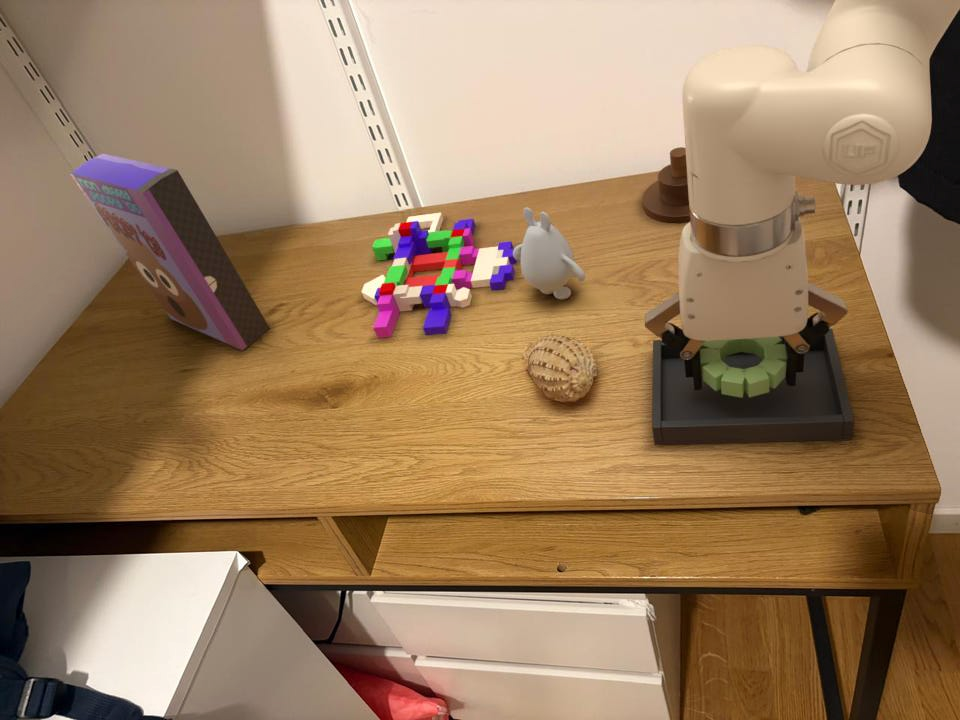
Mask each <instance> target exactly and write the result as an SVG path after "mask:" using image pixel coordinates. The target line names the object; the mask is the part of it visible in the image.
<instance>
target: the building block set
mask: <svg viewBox="0 0 960 720" xmlns="http://www.w3.org/2000/svg"><path fill="white" fill-rule="evenodd" d="M443 222H444V216H443V214H442V212H435V213H428V214H427V213H426V214H421V215H411V216H407V219H406V221H405V222H398V223H395V224H394V226H393V227H390V229H389V231H388V233H387V237H384V238H378V239H375V240H374V242H373V244H372V247H371V248H372V251H373V254H374V256H375V259H376V261H378V262H379V261H386V260H388V258H389V256H390V255H391V254H394V256H393V258H392V259H393V261H392V265H391V266H389V268H388V271H387V274H386V276H385V275H384V274H381V275H378V276H377V277H376V278H374V279H372V280H369V281H367V282H365V283H364V284H363V287H362V289H361V291H360V292H361V295H362V297H363V299H364V300H366V301H368V302H370V303H371V304H373V305H375V306H377V308H378V314H377V317H376V320H375V322H374V325H373V327H372V329H373V331H374V332H375V335H376V337H377V339H383V338H384V339H385V338H392V336H393V331H394V329H395V327H396V325H397V321H398V319H399V315H400V313H401V312H409V311H411V312H412V311H413V308H414V307H415V305H419V304H423V306H424V309H428V310H427V315H426V317H425V321H424V324H423V326H422V329H423V332H424V334H425V336H428V335H429V336H431V335H442V334H447V333H448V329H449V326H450V322H451V319H452V313H451V310H450V309H451V308H453V307H458V308H461V309H463V308H466V307H468V306H470V305H471V301H472V298H473V295H472V292H471V289H476V288H487V287H490V289H491V291H497V290H505V289H506V284H507V281H513V280H514V278H515V277H514V275H515V273H516V270H515V267H514V264H517V262H518V260H516V259H515V258H514V256H513V250H514V249H515V247H514V246H513V241H511V240H509V241H502V242H499V243H498V246H490V247H481V248H480V247H479V248H475V247H474V246H475V239H474V232H475V228H476V223H475V219H474V218H466V219H459V220H458V221H457V222H455V223H454V225H453V228H452V230H447V229H446V230H441V228H442V225H443ZM423 229H426V230H423ZM440 247H441V249H442V250H441V251H442V252H436V253H433V250H434V248H440ZM467 265H474V267H473V271H472V272H468V269H462V268H463V266H467ZM435 270H441V273H439V274H431V275H422V276H414V273H417V272H425V271H435Z"/></svg>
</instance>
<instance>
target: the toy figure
mask: <svg viewBox="0 0 960 720" xmlns="http://www.w3.org/2000/svg"><path fill="white" fill-rule="evenodd" d="M522 213H523V214H522V215H523V218H524V220H525V221H526V223H527V224H528V228H527V229H526V231H525V234H524V237H523V240H522V243H519V244H518V245H516V246H515V247H514V248H515V249H514V248H513V249H514V250H513V256H514V258H515V259H516V260H517V261H520V269H521V274H522V276H523V277H524V279H525V281H527V283H528V284H529V285H530V286H532V287H533V288H535V289H537V290H540V292H541V293H542V294H544V295H552V294H553V296H554V298H556V299H558V300H566V299H568V298H570V297H571V296H572V295H571V294H572V291H571V288H569V287H567V286H565V285H566V284H568V282H569V280H570V279H571V277H573V278H576V279H577V280H578V281H579V282H584V281H585V280H586V274H585V272H584V270H583V268H581V266H580V265H578V263H576V261H575V255H574V252H573V249H572V246H571V245H570V243H569V242H568V241H567V240H566V238H565V236H564V235H563V234H562V233H561V232H560V231H559V230H558V228H557V227H556V226H555V225H554V223H552V220H551V218H550V216H549V214H548V213H547V212H545V211H541V212H540V213H539V221H536V219H535V216H534V212H533V211H532V209H531V208H530V207H527V206H525V207H524V208H523V210H522Z"/></svg>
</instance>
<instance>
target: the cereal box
mask: <svg viewBox="0 0 960 720" xmlns="http://www.w3.org/2000/svg"><path fill="white" fill-rule="evenodd" d="M69 175H70V176H71V178H72V179H73V180H74V182H75V183H76V185H77V186H78V188H79V190H81V192H82V193H83V195H84V197H85V199H86V200H87V201H88V202H89V204H90V205H91V207H92V208H93V209H94V211H95V212H96V213H97V215H98V217H99V218H100V219H101V221H102V223H104V225H105V226H106V229H108V231H109V232H110V234H111V236H113V238H114V240H115V241H116V242H117V244H118V245H119V247H120V248H121V250H122V251H123V252H124V254H125V255H126V257H127V258H128V260H129V261H130V263H131V264H132V265H133V267H134V269H135V270H136V271H137V273H138V274H139V275H140V277H141V278H142V280H143V281H144V282H145V284H146V286H147V287H148V288H149V290H150V291H151V292H152V294H153V295H154V297H155V298H156V300H157V301H158V302H159V304H160V305H161V307H162V309H163V310H164V311H165V312H166V314H167V316H168V317H169V319H170V320H171V321H173V322H175V323H177V324H180V325H182V326H185V327H187V328H189V329H191V330H193V331H195V332H198V333H200V334H203V335H205V336H207V337H210V338H212V339H214V340H216V341H219V342H221V343H223V344H225V345H228V346H230V347H233V348H235V349H237V350H239V351H240V352H244V351H246V350H247V349H248V348H249V347H251V346H252V345H253V344H254V343H255V342H256V341H257V340H259V339H260V338H261V337H262V336H263V335H264V334H265V333H266V332H268V331H269V330H270V329H271V328H270V326H269V324H268V322H267V321H266V319H265V317H264V316H263V314H262V312H261V311H260V309H259V308H258V306H257V303H256V302H255V300H254V299H253V297H252V295H251V293H250V291H249V290H248V288H247V286H246V285H245V283H244V282H243V280H242V278H241V276H240V275H239V273H238V271H237V268H235V266H234V264H233V263H232V260H231V259H230V258H229V256H228V254H227V252H226V250H225V249H224V247H223V246H222V244H221V242H220V241H219V239H218V237H217V235H216V233H215V232H214V230H213V229H212V227H211V225H210V223H209V221H208V220H207V218H206V216H205V214H204V213H203V211H202V209H201V207H200V206H199V204H198V202H197V201H196V199H195V198H194V195H193V194H192V193H191V190H190V189H189V187H188V186H187V183H186V182H185V181H184V179H183V177H182V175H181V173H180V172H179V170H178V169H174V168H170V167H165V166H160V165H156V164H152V163H147V162H143V161H138V160H134V159H129V158H125V157H120V156H116V155H112V154H106V153H100V154H99V155H97V156H95V157H94V156H93V157H92V158H90V159H89V160H86V161H85V162H84V163H82V164H81V165H79V166H78V167H77V168H75V169H74V170H73V171H71V172H69Z"/></svg>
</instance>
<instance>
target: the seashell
mask: <svg viewBox="0 0 960 720" xmlns="http://www.w3.org/2000/svg"><path fill="white" fill-rule="evenodd" d="M521 356H522V357H521V359H522V360H523V365H524V366H525V369H526V371H528V372H529V374H530V376H531V377H533V378H532V379H533V380H534V385H535V386H536V387H537V388H539V389H540V390H541V391H542V392H543V393H544V395H545V396H546V397H547V398H548V399H550V400H553V401H557V402H561V403H564V402H570V403H576V402H577V401H578V400H580V399H582V398H585V396H586V394H587V393H588V392H590V390H591V387H592V385H593V383H594V378H595V377H597V376H598V365H597V363H598V362H597V358H596V357H595V355H594V353H593V352H592V350H591V348H589V347H588V346H586V345H585V344H584V343H583V342H582V341H580V340H579V339H577V338H575V337H572V336H567V335H561V334H548V335H545V336H543V337H540V338H539V339H537V340H536V341H535V342H528V343H526V344H525V345H524V348H523V351H522V353H521Z"/></svg>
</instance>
